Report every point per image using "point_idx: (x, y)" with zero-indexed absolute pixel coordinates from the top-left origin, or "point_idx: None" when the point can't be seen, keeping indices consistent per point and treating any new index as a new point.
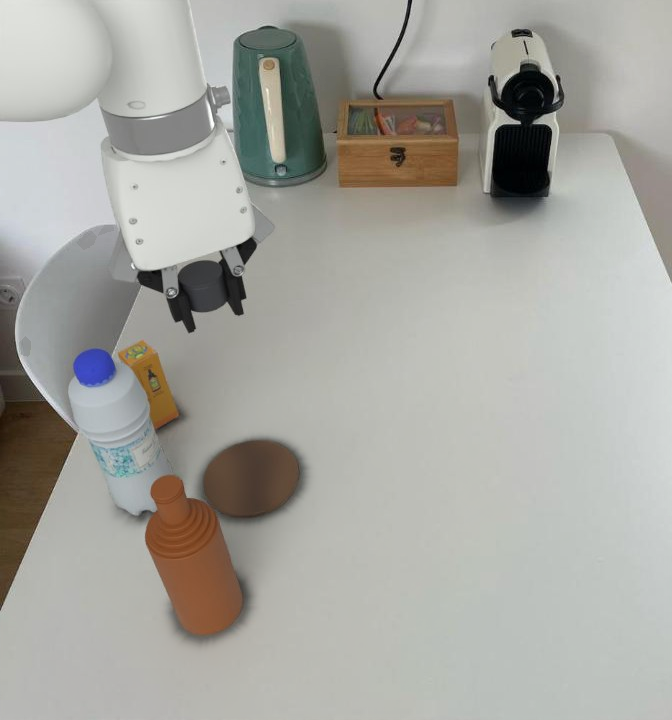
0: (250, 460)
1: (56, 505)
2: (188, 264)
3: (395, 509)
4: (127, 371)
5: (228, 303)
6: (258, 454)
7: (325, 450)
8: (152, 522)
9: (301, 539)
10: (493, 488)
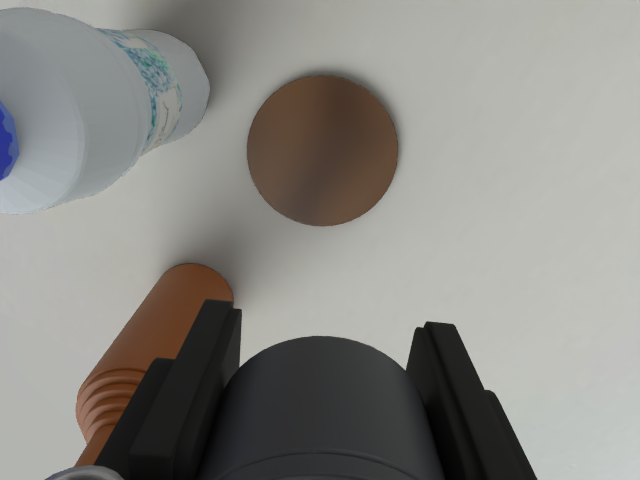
0: (336, 125)
1: (22, 6)
2: (293, 476)
3: (453, 310)
4: (65, 134)
5: (408, 364)
6: (353, 121)
7: (445, 169)
8: (85, 409)
9: (330, 281)
10: (570, 351)
